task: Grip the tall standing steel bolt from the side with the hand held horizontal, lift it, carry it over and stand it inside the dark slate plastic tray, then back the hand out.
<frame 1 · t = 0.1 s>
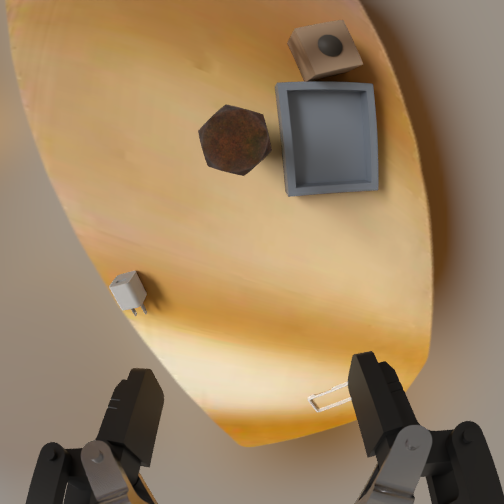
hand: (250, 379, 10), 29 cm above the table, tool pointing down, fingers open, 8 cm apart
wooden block: (317, 57, 28), on the table
phone case: (341, 390, 56), on the table
tray: (326, 136, 33), on the table
bolt: (240, 135, 33), on the table
usb wall charger: (136, 289, 43), on the table
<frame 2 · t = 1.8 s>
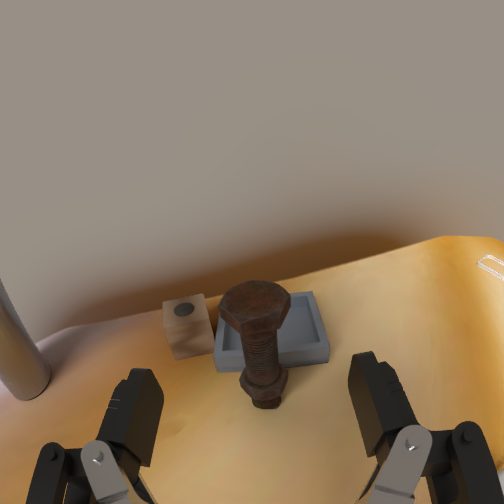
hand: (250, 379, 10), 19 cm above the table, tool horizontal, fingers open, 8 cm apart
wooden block: (194, 341, 39), on the table
tray: (270, 337, 38), on the table
bolt: (266, 402, 28), on the table
usb wall charger: (483, 498, 10), on the table
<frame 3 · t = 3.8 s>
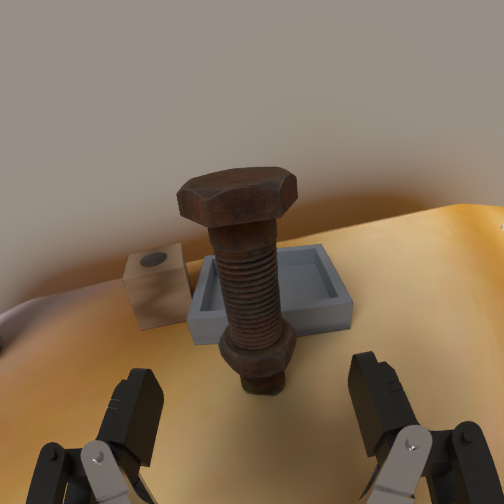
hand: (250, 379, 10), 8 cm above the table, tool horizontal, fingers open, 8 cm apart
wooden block: (168, 308, 30), on the table
tray: (268, 300, 29), on the table
bolt: (264, 386, 19), on the table
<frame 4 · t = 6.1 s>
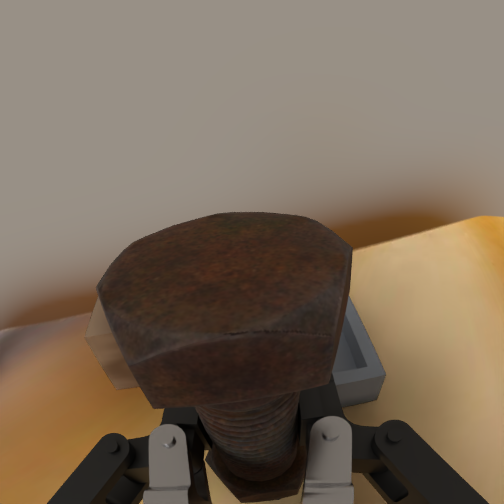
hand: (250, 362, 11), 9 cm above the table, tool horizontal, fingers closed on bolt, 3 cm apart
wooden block: (148, 360, 22), on the table
tray: (273, 355, 22), on the table
bolt: (267, 482, 12), on the table, touching gripper
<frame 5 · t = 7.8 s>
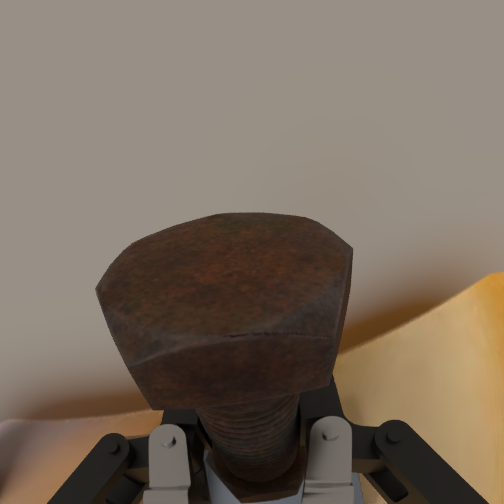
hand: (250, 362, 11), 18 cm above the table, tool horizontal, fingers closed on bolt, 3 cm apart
tray: (274, 487, 18), on the table
bolt: (267, 482, 12), point 10 cm above the table, touching gripper
when the fingers open (11 cm above the table, at t = 9.7 s): bolt drops 1 cm, resting on tray.
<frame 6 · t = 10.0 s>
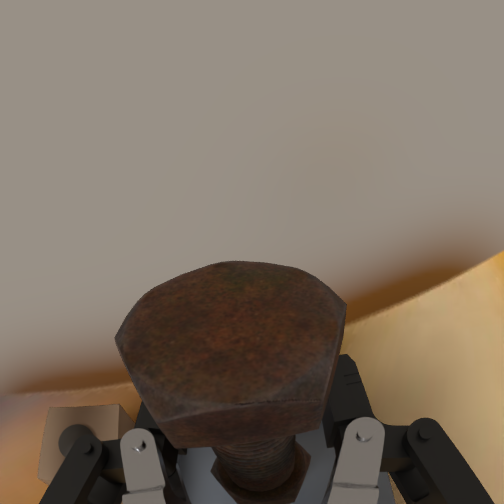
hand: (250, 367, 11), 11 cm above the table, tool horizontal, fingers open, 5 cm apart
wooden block: (120, 477, 14), on the table
tray: (269, 490, 13), on the table
bolt: (267, 489, 13), point 1 cm above the table, touching tray
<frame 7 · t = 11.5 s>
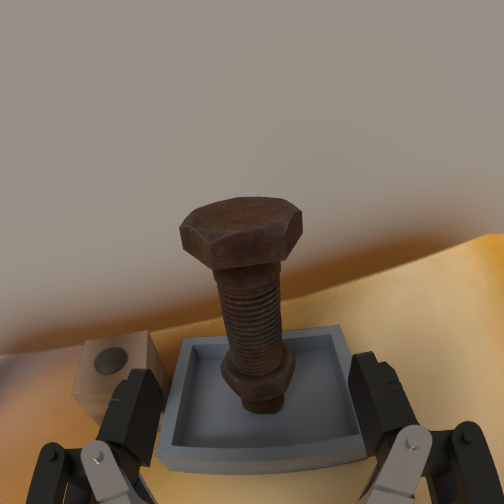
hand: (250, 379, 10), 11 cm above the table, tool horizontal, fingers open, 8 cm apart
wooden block: (139, 405, 20), on the table
tray: (265, 408, 20), on the table
bolt: (263, 404, 19), point 1 cm above the table, touching tray
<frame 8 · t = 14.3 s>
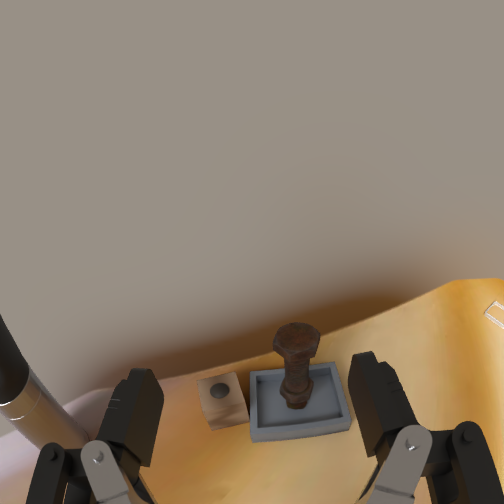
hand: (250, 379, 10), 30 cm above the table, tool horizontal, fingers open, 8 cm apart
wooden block: (226, 411, 39), on the table
tray: (297, 406, 38), on the table
bolt: (296, 404, 38), point 1 cm above the table, touching tray
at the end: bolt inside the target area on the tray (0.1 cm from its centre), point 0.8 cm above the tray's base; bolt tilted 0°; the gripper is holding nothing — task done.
